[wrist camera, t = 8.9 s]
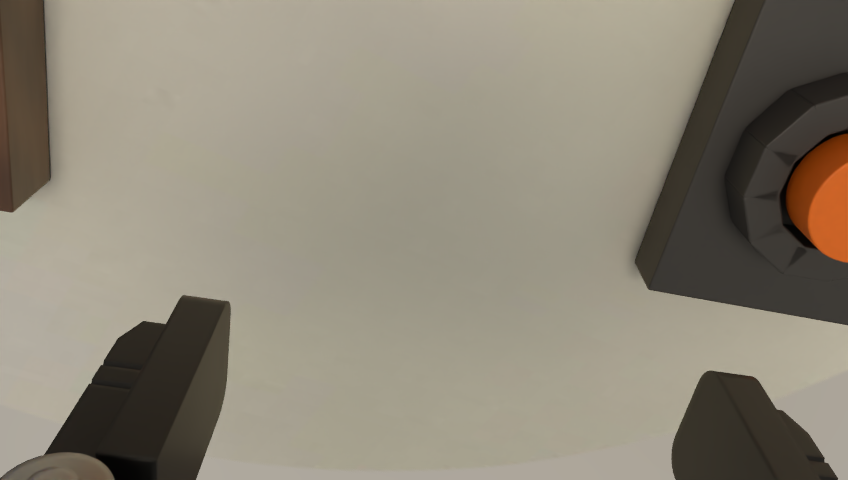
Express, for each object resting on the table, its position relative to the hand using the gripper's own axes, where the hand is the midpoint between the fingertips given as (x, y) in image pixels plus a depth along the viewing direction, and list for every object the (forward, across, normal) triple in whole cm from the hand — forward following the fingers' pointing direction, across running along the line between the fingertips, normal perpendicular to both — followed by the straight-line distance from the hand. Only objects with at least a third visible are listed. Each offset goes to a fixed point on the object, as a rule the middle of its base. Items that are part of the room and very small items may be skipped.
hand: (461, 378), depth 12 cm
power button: (+13, -14, 0) cm, 19 cm away
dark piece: (+17, -14, 0) cm, 22 cm away
